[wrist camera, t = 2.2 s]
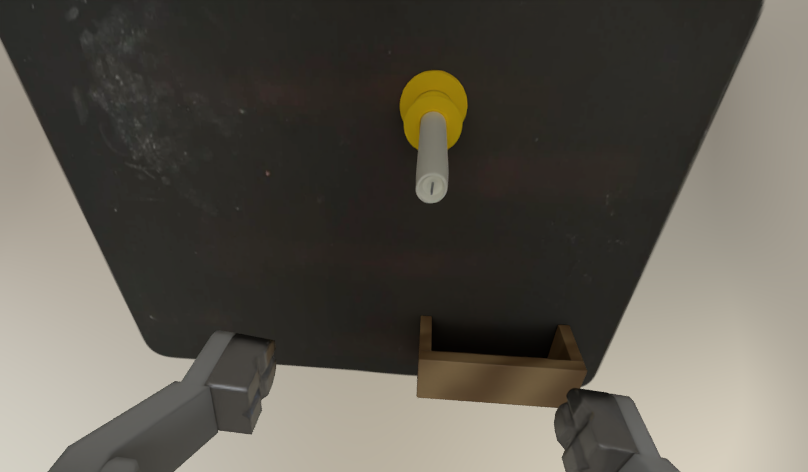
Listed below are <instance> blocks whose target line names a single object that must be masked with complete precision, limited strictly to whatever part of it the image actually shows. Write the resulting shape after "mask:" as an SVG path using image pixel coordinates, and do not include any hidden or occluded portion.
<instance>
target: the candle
mask: <svg viewBox="0 0 808 472" xmlns="http://www.w3.org/2000/svg"><path fill="white" fill-rule="evenodd" d="M466 112H467V96H466V93H465V91H464V88H463V86H462V85H461V83H460V82H459V81H458V79H456V78H455V77H454V76H452V75H451V74H449V73H447V72H444V71H441V70H429V71H424V72H422V73H420V74H418V75H416V76H414V77H413V78H412V79H411V80H410V81H409V82H408V83H407V85H406V86H405V88H404V89H403V92H402V95H401V98H400V113H401V117H402V120H403V122H404V131H405V135H406V137H407V139H408V141H409V142H410V143H411V145H412V146H413V147H415V148H416V149H417V150H418V158H417V169H416V194H417V196H418V197H419V199H420V200H422V201H423V202H426V203H435V202H438V201H440V200H441V199H442V198H443V197H444V196H445V194H446V192H447V188H448V152H447V150H448V149H449V148H451V147H452V146H453V145H454V144H455V143H456V141H457V140H458V138H459V136H460V134H461V130H462V123H463V120H464V118H465V116H466Z"/></svg>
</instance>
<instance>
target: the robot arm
mask: <svg viewBox="0 0 808 472" xmlns="http://www.w3.org/2000/svg"><path fill="white" fill-rule="evenodd" d="M274 351H275V340H270V339H265V338H259V337H254V336H249V335H244V334H238V333H232V332H227V331H221V330H217V331H216V332H215V333H213V334H212V335H211V337H210V338H209V340H208V341H207V343H206V345H205V346H204V348H203V349H202V351H201V352H200V354H199V355H198V357H197V358H196V360H195V362H194V363H193V365H192V366H191V368H190V369H189V371H188V372H187V374H186V375H185V377H184V378H183V380H182V381H181V382H177V381H175V382H173V383H171V384H170V385H168V386H167V387H165V388H163V389H162V390H160V391H158V392H157V393H155V394H153V395H152V396H150V397H149V398H147V399H145V400H144V401H142V402H140V403H139V404H137V405H136V406H134V407H132V408H131V409H129V410H128V411H126V412H124V413H122V414H121V415H119V416H117V417H116V418H114V419H113V420H111V421H109V422H108V423H106V424H104V425H103V426H101V427H100V428H98V429H96V430H94V431H93V432H91V433H90V434H88V435H86V436H85V437H83V438H81V439H80V440H78V441H77V442H75V443H73V444H72V445H70V446H68V447H67V449H66V450H65V451H64V452H63V453H62V455H61V456H60V457H59V458H58V460H57V461H56V462H55V463H54V465H53V466H52V467H51V468H50V470H49V471H48V472H174V471H175V470H176V469H177V468H178V467H179V466H181V465H182V464H183V463H184V462H185V461H186V460H187V459H189V458H190V457H191V456H192V455H193V454H194V453H195V452H196V451H198V450H199V449H200V448H201V447H202V446H203V445H204V444H205V443H207V442H208V441H209V440H210V439H211V438H212V437H213V436H215V435H216V434H217V433H218V430H220V431H229V432H236V433H244V434H252V432H253V430H254V428H255V425H256V423H257V420H258V418H259V416H260V413H261V411H262V406H261V400H262V399H263V398H264V397H266V396H267V395H268V394H269V391H270V389H271V386H272V383H273V380H274V376H275V370H276V359H275V358H274V357H273V353H274ZM566 398H567V402H565V403H563V404H561V405H560V406H559V407H558V409H557V411H556V414H555V420H554V427H555V433H556V437H557V441H558V442H559V443H560V444H561V445H562V447H563V448H564V449H565V451H564V453H563V456H562V460H563V464H564V467H565V471H566V472H680V471H679V470H678V469H677V468H676V467H675V466H674V465H673V464H671V462H670V461H669V460H667V459H666V458H661V457H660V455H659V453H658V451H657V448H656V447H655V444H654V442H653V440H652V438H651V436H650V434H649V432H648V430H647V428H646V426H645V424H644V422H643V420H642V418H641V416H640V413H639V412H638V409H637V407H636V405H635V403H634V401H633V400H632V399H631V398H630V397H628V396H622V395H616V394H609V393H606V392H599V391H592V390H585V389H579V388H572V389H570V390H569V391H568V393H567V395H566Z"/></svg>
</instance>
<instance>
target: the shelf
mask: <svg viewBox="0 0 808 472" xmlns="http://www.w3.org/2000/svg"><path fill="white" fill-rule="evenodd" d="M431 336H432V317H431V316H421V321H420V338H419V355H418V376H417V379H418V380H417V397H418V398H431V399H445V400H458V401H472V402H486V403H499V404H512V405H526V406H540V407H554V408H558V407H559V406H560V405H561V404H563V403H565V402H567V398H566V395H567V393H568V391H569V390H570V389H572V388H579V389H580V387H581V385H582V383H583V380H584V378H585V376H586V373H587V369H586V367H585V364H584V362H583V359H582V357H581V354H580V352H579V349H578V346H577V344H576V341H575V339H574V336H573V334H572V331H571V329H570V326H569V325H558V327H557V330H556V333H555V336H554V339H553V342H552V345H551V348H550V351H549V354H548V357H547V358H534V357H520V356H505V355H490V354H476V353H461V352H446V351H432V350H431Z"/></svg>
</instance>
